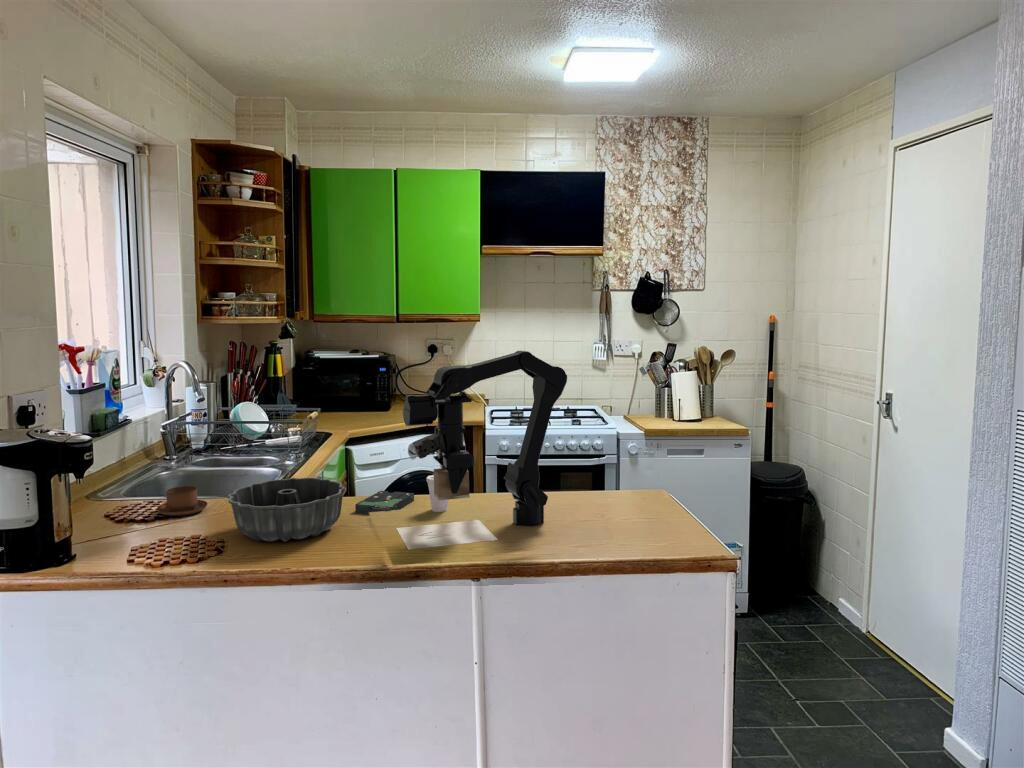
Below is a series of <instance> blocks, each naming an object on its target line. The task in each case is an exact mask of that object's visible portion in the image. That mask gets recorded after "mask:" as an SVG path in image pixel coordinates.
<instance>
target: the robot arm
mask: <svg viewBox="0 0 1024 768" xmlns="http://www.w3.org/2000/svg"><path fill="white" fill-rule="evenodd" d="M520 370H521V371H522V372H523V373H525V374H526V376H529V377H530V378H532V393H533V394H532V395H533V403H532V407H531V410H530V414H529V419H528V421H527V426H526V429H525V433H524V437H523V441H522V445H521V448H520V452H519V456H518V458H517V459H516V460H515V462H514V463H511V462H508V464H507V468H506V473H505V475H504V476H503V479H504V480H505V483H504V484H505V487H506V489H507V491H508V492H509V493H510V494H511V496H512V498H513V499H514V500H515V501H514V506H515V507H513V508H512V523H513V524H514V525H515V526H519V527H522V526H523V527H534V526H535V527H536V526H540V525H541V524H545V523H544V522H545V506H546V505H547V502H548V499H549V496H548V495H547V494H546V493H545V492H544V491H543V490H542V489H540V487H539V486H540V479H541V478H540V470H539V469H540V468H539V460H540V455H541V453H542V449H543V445H544V441H545V438H546V433H547V430H548V426H549V422H550V419H551V416H552V412H553V409H554V408H553V407H554V406H555V403H556V402H557V401H558V400H559V398H561V396H562V394H563V392H564V389H565V387H566V385H567V382H568V374H567V373H566V371H565V370H564V369H563V368H562V367H560V366H556V365H551V364H549V363H547V362H546V361H544V360H542V359H541V358H538V357H537V356H535V355H534V354H532V352H530V351H527V350H516V351H515V352H513V353H509V354H505V355H502V356H499V357H494V358H491V359H488V360H484V361H479V362H477V363H473V364H466V365H465V364H463V365H457V364H456V365H447V366H442V367H439V368H437V370H436V372H434V373H435V374H434V376H433V381H432V383H431V384H430V386H429V387H428V388H427V390H426V392H425V393H424V394H417V395H414V394H406V395H405V401H404V402H403V403H404V404H403V408H402V418H403V422H404V425H405V426H406V427H414V426H426V425H433V423H434V422H435V421H437V426H436V425H435V427H434V433H433V434H432V433H431V434H429V435H426V436H424V437H422V438H419V439H417V440H415V441H413V442H412V443H411V444H412V447H413V449H414V451H415V455H416V456H417V457H418V458H419V459H420V460H421V459H424V458H426V457H428V456H429V455H433V456H432V457H433V459H434V460H435V461H436V462H437V463H438V464H439V466H440V465H441V468H445V469H446V470H447V471H448V475H449V480H450V486H451V491H452V493H453V494H455V493H457V492H458V490H459V487H460V485H461V483H462V480H463V478H464V476H465V474H466V472H467V470H468V469H469V468H470V467H475V456H474V455H472V454H471V453H469V452H468V450H466V449H467V447H466V445H465V444H464V433H466V427H465V426H464V408H463V407H464V403H472V401H473V400H472V399H471V398H470V397H469V396H468V395H467V394H466V392H465V390H467V389H469V388H471V387H473V386H474V385H475V384H477V383H479V382H481V381H484V380H485V381H486V380H487V379H491V378H495V377H498V376H503V375H505V374H510V373H512V372H516V371H520ZM435 454H436V455H435ZM468 471H469V470H468Z"/></svg>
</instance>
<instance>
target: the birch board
mask: <svg viewBox="0 0 1024 768" xmlns="http://www.w3.org/2000/svg"><path fill="white" fill-rule="evenodd" d="M396 530H397V532H398V533H399V536H400V538H401V539H402V541H403V543H404V545H405V546H406V548H407V550H408V551H409V550H415V549H425V548H436V547H445V546H455V545H462V544H463V545H465V544H474V543H481V542H492V541H498V538H497V537H496V536H495V535H494V534H493V533H492V532H491V531H490V530H489V529H488V528H487V527H486V526H485V525H484V524H483V523H482V522H481V521H480V520H479V519H475V520H474V519H473V520H466V521H455V522H454V521H452V522H445V523H443V522H442V523H435V524H426V525H425V524H424V525H423V524H422V525H415V526H414V525H413V526H405V527H404V526H402V527H396Z"/></svg>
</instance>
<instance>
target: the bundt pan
mask: <svg viewBox="0 0 1024 768" xmlns="http://www.w3.org/2000/svg"><path fill="white" fill-rule="evenodd" d="M344 491H346V487H345V486H343V484H342V483H341V482H339V481H335V480H331V479H329V478H328V479H327V478H326V479H325V478H319V477H299V478H298V477H291V478H283V479H280V478H278V479H271V480H265V481H262V482H257V483H250V484H249V485H246V486H242V487H239V488H236V489H235V490H233V493H229V494H227V499H228V500H227V501H228V503H229V504H230V505H231V508H232V513H233V517H234V520H235V525H236V527H237V530H239V532H240V533H242V534H243V535H244V536H247V537H249V538H250V539H251V540H253V541H256V542H257V541H260V542H261V541H266V542H268V543H270V542H271V543H272V542H276V541H279V540H281V541H282V542H284V543H287V542H288V541H289V540H291V539H293V540H304V539H306V538H307V537H317V536H319V535H321V533H323V532H326V531H328V530H329V529H331V528H332V527H333V525H334V524H335V523H336V522H337V521H338V520H339V518H340V516H341V514H342V513H341V512H342V505H343V496H344Z"/></svg>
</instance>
